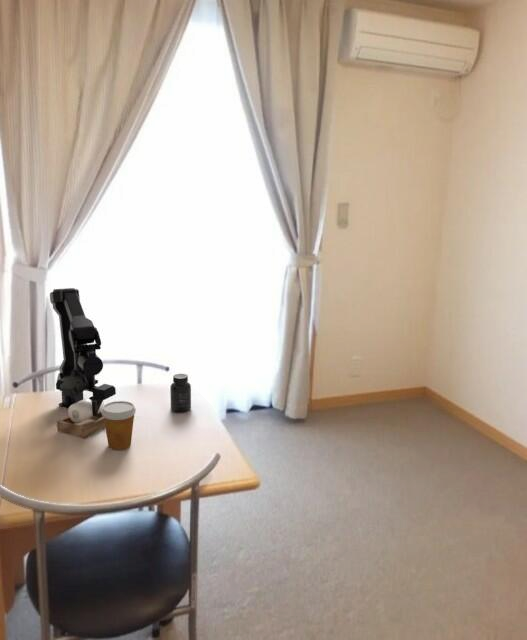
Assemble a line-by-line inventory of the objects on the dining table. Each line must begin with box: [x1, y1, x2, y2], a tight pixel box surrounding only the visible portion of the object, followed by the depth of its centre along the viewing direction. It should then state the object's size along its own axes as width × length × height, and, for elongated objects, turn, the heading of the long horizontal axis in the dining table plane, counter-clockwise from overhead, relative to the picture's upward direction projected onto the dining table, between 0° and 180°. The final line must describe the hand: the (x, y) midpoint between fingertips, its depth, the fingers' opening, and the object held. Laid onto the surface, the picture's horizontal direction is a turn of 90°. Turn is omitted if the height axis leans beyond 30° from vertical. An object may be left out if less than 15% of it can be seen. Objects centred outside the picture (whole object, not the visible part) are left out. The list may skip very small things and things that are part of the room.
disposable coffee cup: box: [101, 400, 137, 451], centre depth 160 cm, size 10×10×12 cm
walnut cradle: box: [56, 412, 105, 440], centre depth 172 cm, size 10×14×3 cm
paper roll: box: [67, 394, 105, 423], centre depth 171 cm, size 10×6×6 cm, turn 156°
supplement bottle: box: [169, 373, 192, 414], centre depth 186 cm, size 7×7×12 cm
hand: (86, 413), depth 172 cm, fingers closed on paper roll, 6 cm apart
